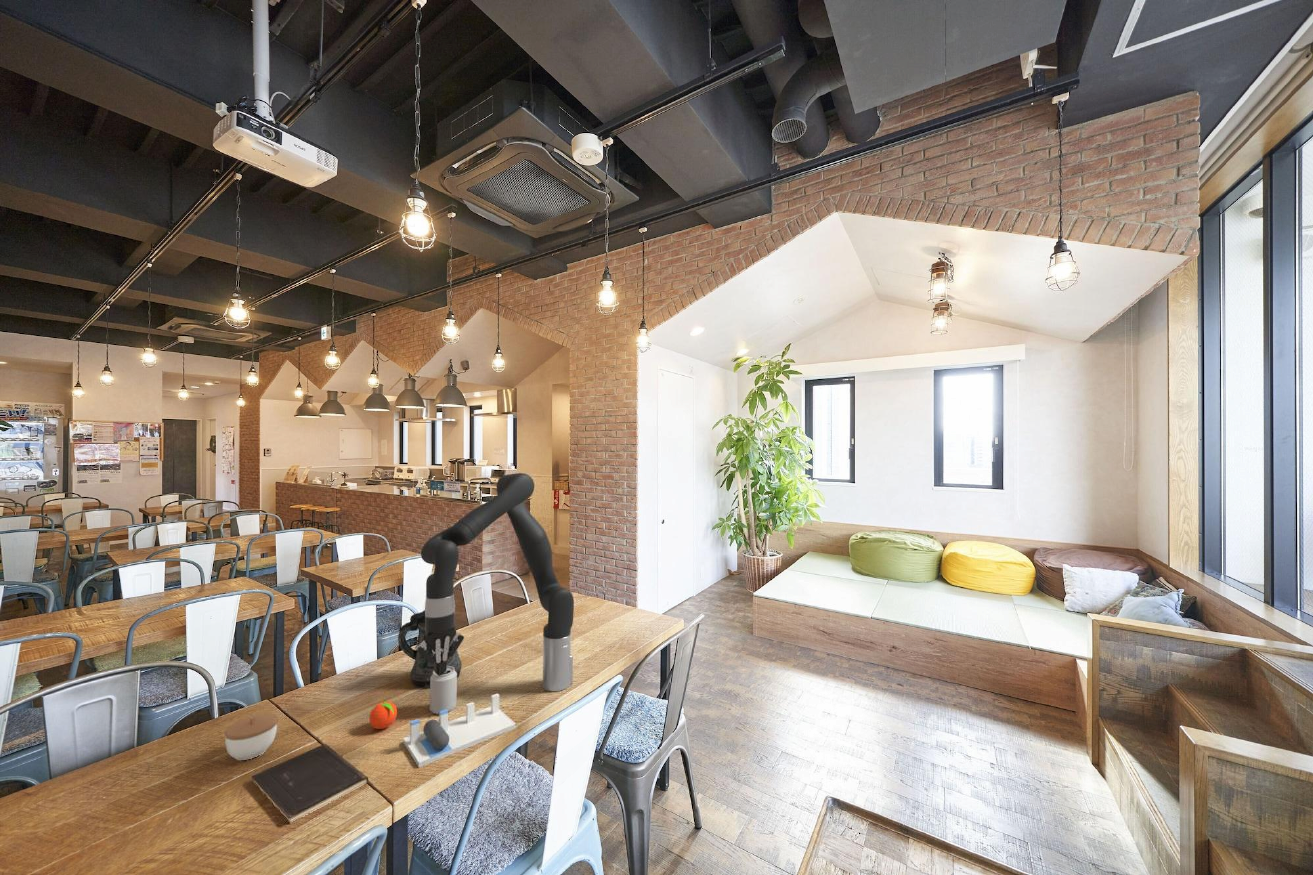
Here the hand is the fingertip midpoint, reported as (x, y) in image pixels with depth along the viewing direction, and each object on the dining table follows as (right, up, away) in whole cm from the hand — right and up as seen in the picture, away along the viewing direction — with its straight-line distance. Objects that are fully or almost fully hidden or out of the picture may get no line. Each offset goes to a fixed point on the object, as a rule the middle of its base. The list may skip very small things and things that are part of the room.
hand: (440, 674), depth 133 cm
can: (-6, -19, +15) cm, 25 cm away
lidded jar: (-47, -18, -7) cm, 50 cm away
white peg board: (+5, -18, +2) cm, 19 cm away
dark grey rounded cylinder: (0, -16, -4) cm, 17 cm away
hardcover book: (-23, -18, -18) cm, 35 cm away
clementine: (-18, -18, +5) cm, 26 cm away
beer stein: (-18, -19, +35) cm, 44 cm away
